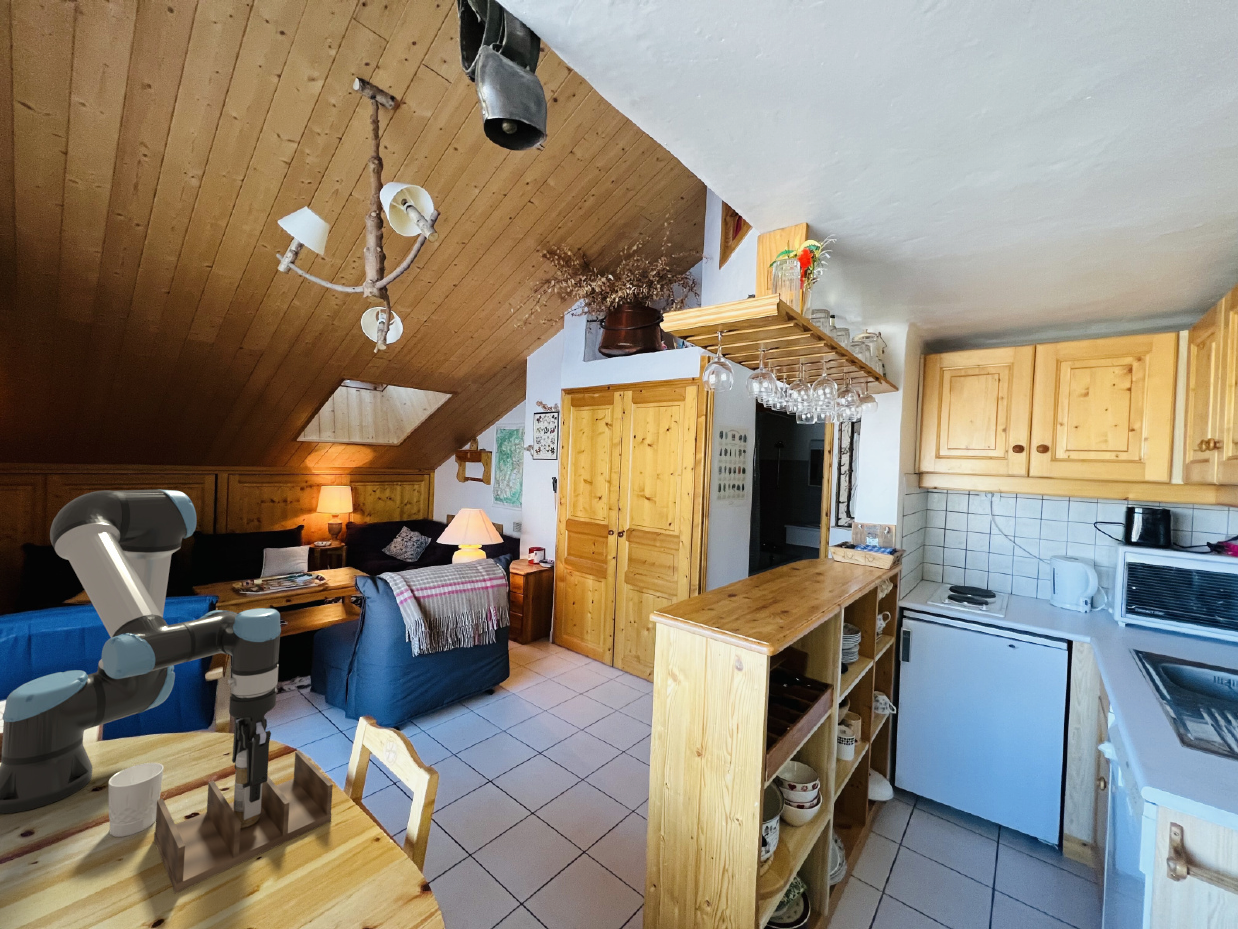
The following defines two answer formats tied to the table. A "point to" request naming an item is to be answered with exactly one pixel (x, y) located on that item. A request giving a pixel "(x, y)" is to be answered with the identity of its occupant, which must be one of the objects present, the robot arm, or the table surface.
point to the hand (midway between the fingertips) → (247, 808)
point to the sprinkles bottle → (242, 790)
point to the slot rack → (217, 833)
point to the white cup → (134, 798)
